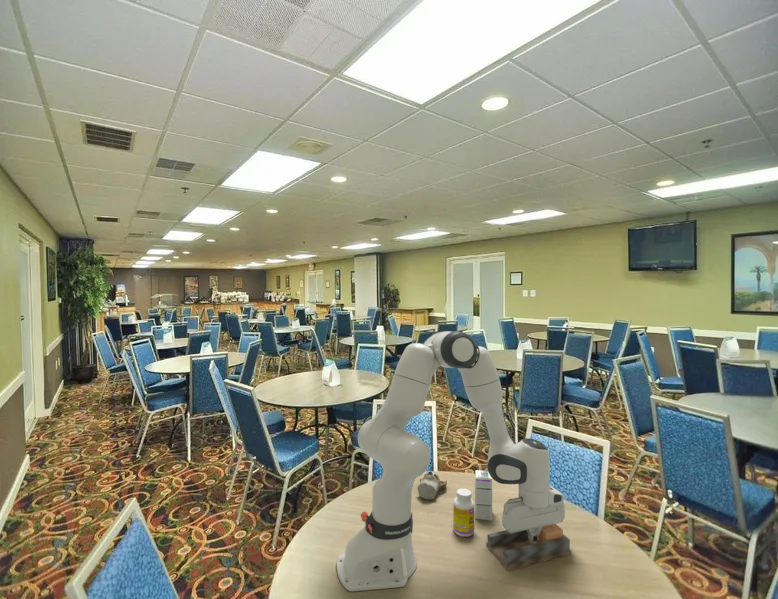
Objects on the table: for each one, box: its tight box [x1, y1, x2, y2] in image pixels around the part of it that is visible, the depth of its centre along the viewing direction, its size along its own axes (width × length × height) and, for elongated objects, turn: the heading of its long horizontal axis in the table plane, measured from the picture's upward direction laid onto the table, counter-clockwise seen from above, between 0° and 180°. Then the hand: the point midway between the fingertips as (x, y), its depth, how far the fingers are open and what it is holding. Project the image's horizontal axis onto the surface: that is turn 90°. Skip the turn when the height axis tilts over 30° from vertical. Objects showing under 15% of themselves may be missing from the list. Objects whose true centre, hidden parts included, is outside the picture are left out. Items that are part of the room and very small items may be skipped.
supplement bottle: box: [452, 488, 475, 538], centre depth 125 cm, size 7×7×13 cm
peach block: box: [533, 523, 564, 543], centre depth 118 cm, size 6×6×5 cm
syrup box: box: [474, 469, 493, 521], centre depth 134 cm, size 6×6×14 cm
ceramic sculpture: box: [417, 471, 448, 501], centre depth 149 cm, size 11×9×15 cm
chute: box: [485, 529, 572, 571], centre depth 116 cm, size 22×11×4 cm, turn 108°
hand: (533, 540), depth 116 cm, fingers closed
